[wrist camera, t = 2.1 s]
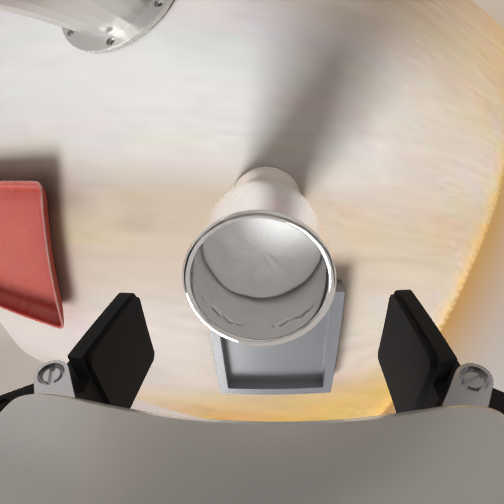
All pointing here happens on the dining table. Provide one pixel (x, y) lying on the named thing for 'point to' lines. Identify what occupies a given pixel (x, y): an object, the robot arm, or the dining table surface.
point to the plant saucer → (28, 254)
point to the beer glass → (260, 262)
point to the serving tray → (283, 359)
